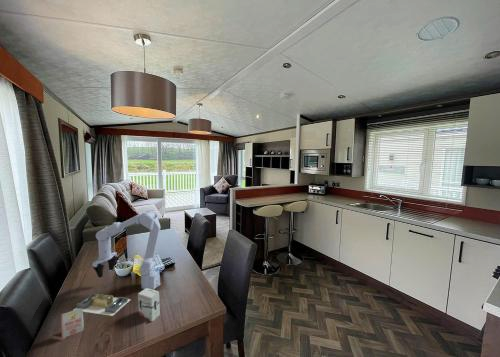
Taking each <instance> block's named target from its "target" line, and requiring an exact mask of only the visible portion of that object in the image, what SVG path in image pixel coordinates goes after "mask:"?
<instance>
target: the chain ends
mask: <svg viewBox="0 0 500 357" xmlns="http://www.w3.org/2000/svg"><path fill="white" fill-rule="evenodd" d="M96 294H97V293H91V294H90V295H89V296H88V297H86V298H85V299H83V300H81V301H80V302H77V303H76V307H77V308H82V309H86V308H87V306H89V305H90V304H91V298H92V297H93V296H94V295H96ZM117 298H118V299H117V300H115V301H114V302H113V303H112V304H111V305H109V306H108V307H106V308H105V312H111V313H115V312H116V310H117V309H118V308H120V307H121V306H122V305H123V304H124V303H125V302H128V299H129V298H128V297H125V296H118V297H117ZM128 303H129V302H128ZM116 313H117V312H116ZM116 313H115V314H116Z"/></svg>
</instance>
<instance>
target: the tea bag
mask: <svg viewBox="0 0 500 357" xmlns="http://www.w3.org/2000/svg"><path fill="white" fill-rule="evenodd" d="M60 316H61V317H60V324H61V325H60V327H61V328H60V329H61V330H60V331H61V341H65V340H67V339H69V337H70V336H72V335H75V334H78V333H82V332H84V326H85V325H84V324H85V323H84V312H83V311H82V308H81V309H78V310H71V311H68V312H65V313H62V314H60Z"/></svg>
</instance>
